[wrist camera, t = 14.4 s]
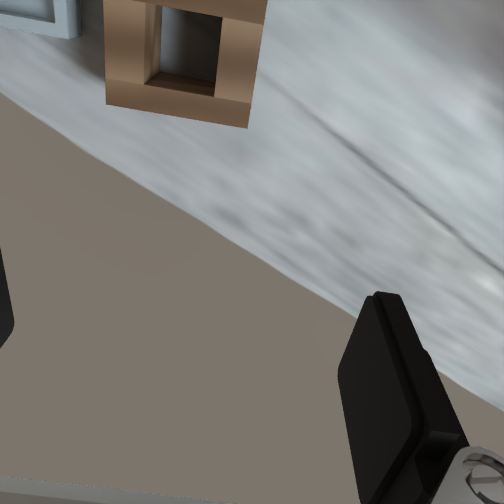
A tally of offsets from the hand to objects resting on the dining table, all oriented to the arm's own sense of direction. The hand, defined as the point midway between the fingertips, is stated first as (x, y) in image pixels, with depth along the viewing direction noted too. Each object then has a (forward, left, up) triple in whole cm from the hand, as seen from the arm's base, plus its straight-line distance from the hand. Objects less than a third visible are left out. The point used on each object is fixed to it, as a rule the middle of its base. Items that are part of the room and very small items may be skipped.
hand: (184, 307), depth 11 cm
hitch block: (-2, -5, -33) cm, 34 cm away
